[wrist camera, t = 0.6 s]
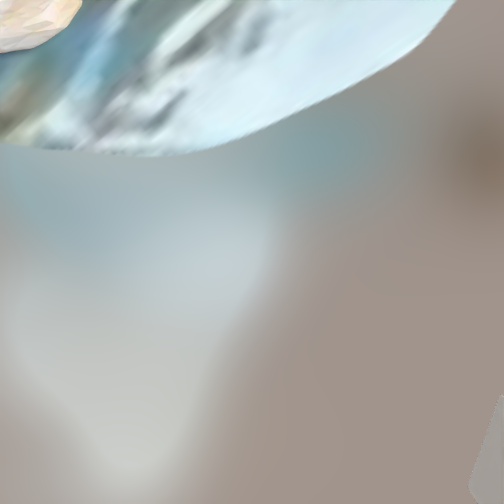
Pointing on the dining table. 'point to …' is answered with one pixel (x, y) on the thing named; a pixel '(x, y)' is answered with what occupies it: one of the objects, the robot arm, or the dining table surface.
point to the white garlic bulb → (33, 21)
